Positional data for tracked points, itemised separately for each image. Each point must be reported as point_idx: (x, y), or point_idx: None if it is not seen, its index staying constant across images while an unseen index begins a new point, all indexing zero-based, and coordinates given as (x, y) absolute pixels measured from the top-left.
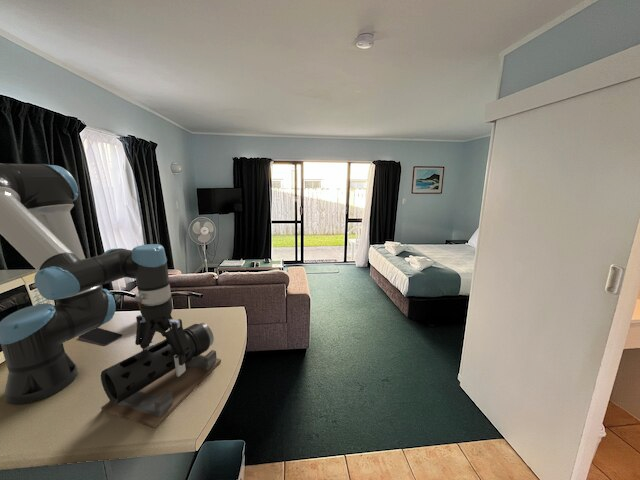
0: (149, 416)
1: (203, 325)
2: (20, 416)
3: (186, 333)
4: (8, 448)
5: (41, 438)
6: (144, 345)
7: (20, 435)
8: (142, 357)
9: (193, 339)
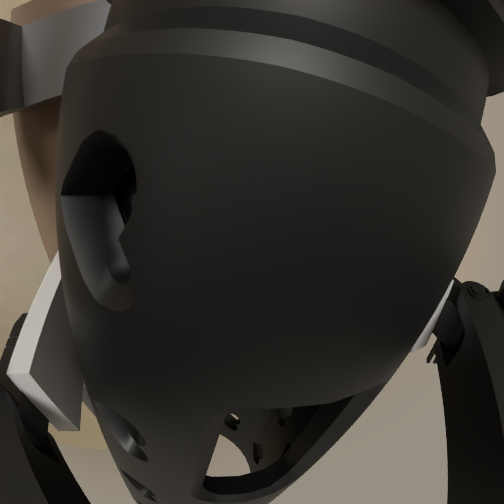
0: None
1: None
2: None
3: (456, 27)
4: (85, 447)
5: (102, 433)
6: (67, 465)
7: (63, 436)
8: (267, 501)
9: (488, 93)
